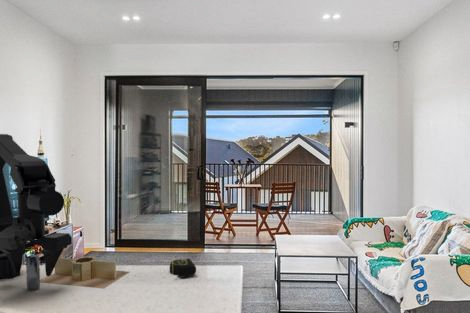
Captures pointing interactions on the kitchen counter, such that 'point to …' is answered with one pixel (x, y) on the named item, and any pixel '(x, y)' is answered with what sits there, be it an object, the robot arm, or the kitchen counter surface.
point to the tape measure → (182, 267)
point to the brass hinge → (85, 268)
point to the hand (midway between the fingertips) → (32, 274)
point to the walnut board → (87, 283)
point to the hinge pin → (33, 272)
